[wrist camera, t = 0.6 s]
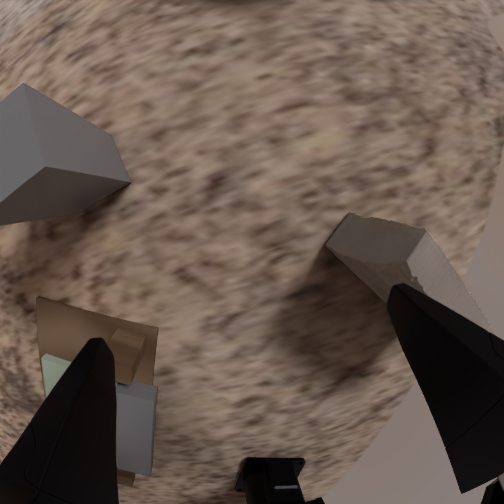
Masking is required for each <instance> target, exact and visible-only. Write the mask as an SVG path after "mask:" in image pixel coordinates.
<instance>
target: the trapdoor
mask: <svg viewBox="0 0 504 504" xmlns="http://www.w3.org/2000/svg"><path fill="white" fill-rule="evenodd" d="M41 360H42V369H43V377H44V384H45V390H46V397H47V396H48V395H49V393H50V392H51V390H52V389H53V387H54V386H55V385H56V383H57V382H58V380H59V379H60V378H61V376H62V375H63V373H64V372H65V371H66V369H67V368H68V366H69V365H70V364H71V362H69V361H66V360H63V359H61V358H58V357H55V356H52V355H49V354H45V355H44V356H43V357H42V358H41ZM157 391H158V387H157V386H152V385H148V384H143V383H139V382H135V381H133V382H132V384H131V385H127V384H123V383H119V382H116V397H117V418H116V461H117V467H118V469H121V470H125V471H129V472H134V473H138V474H142V475H147V476H151V471H152V465H153V449H154V431H155V416H156V403H157Z"/></svg>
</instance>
